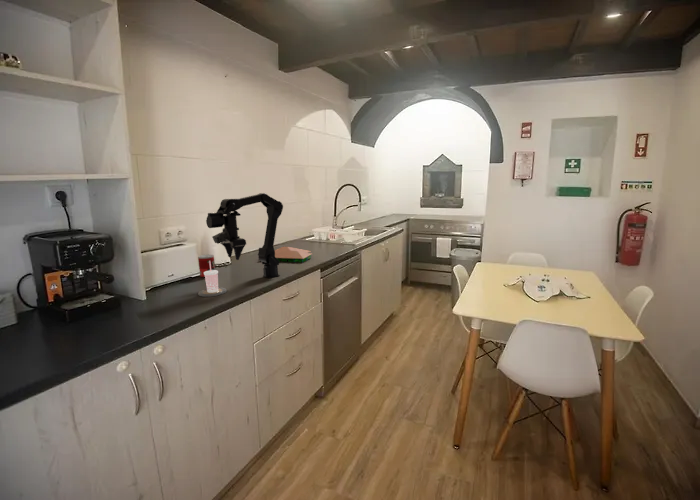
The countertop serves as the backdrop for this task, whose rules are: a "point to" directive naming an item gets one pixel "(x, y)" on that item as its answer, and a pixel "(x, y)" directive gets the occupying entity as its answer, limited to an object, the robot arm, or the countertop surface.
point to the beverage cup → (211, 280)
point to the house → (292, 253)
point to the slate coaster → (207, 294)
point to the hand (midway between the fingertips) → (233, 258)
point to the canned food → (205, 263)
